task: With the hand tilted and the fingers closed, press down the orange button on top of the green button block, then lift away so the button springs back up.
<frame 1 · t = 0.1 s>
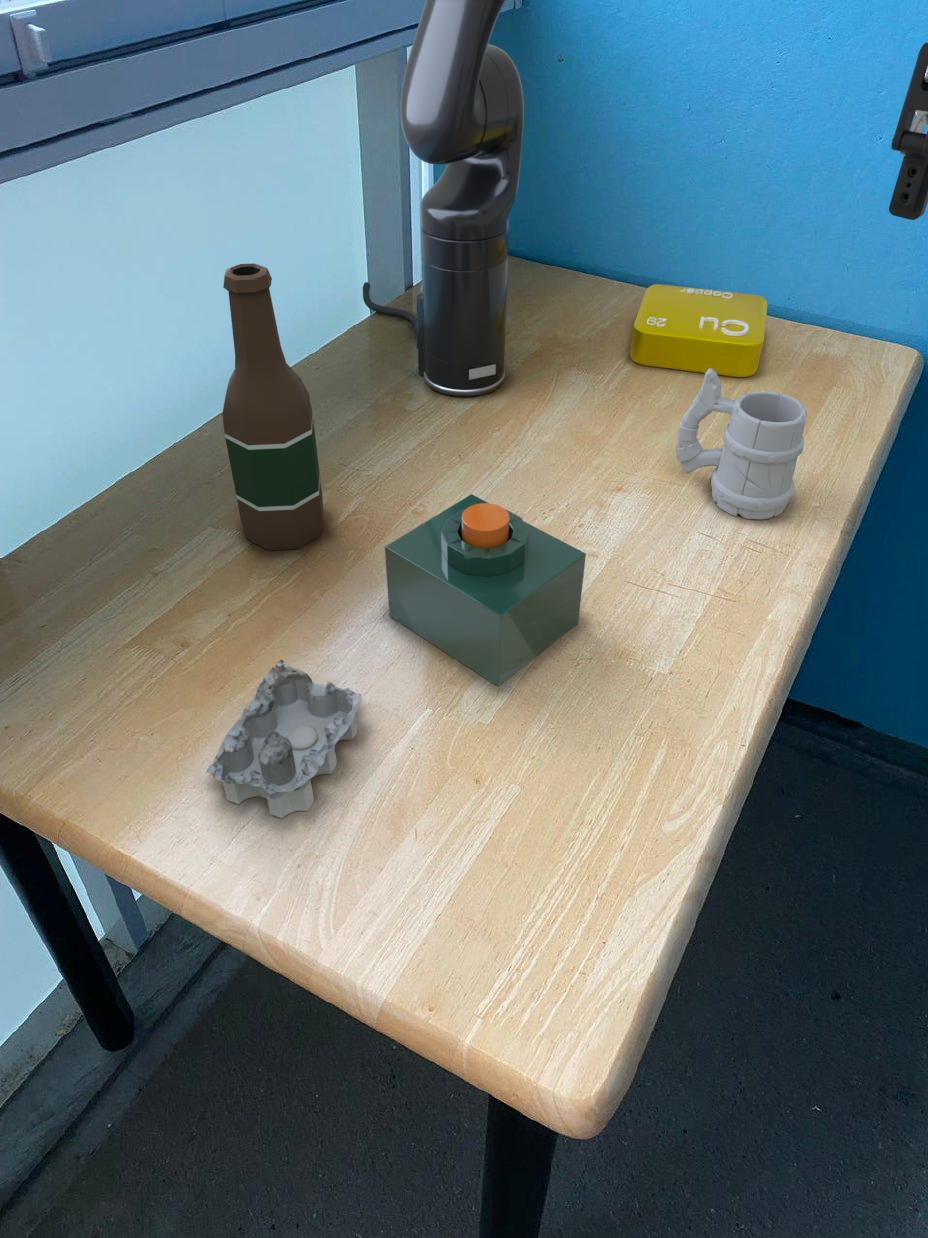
element tile: (696, 346, 115), on the table
beer bottle: (285, 529, 86), on the table
mug: (727, 495, 91), on the table
orange button: (485, 525, 70), point 9 cm above the table, slide at 0.1 cm
green button block: (483, 619, 77), on the table
egg carton: (294, 758, 66), on the table
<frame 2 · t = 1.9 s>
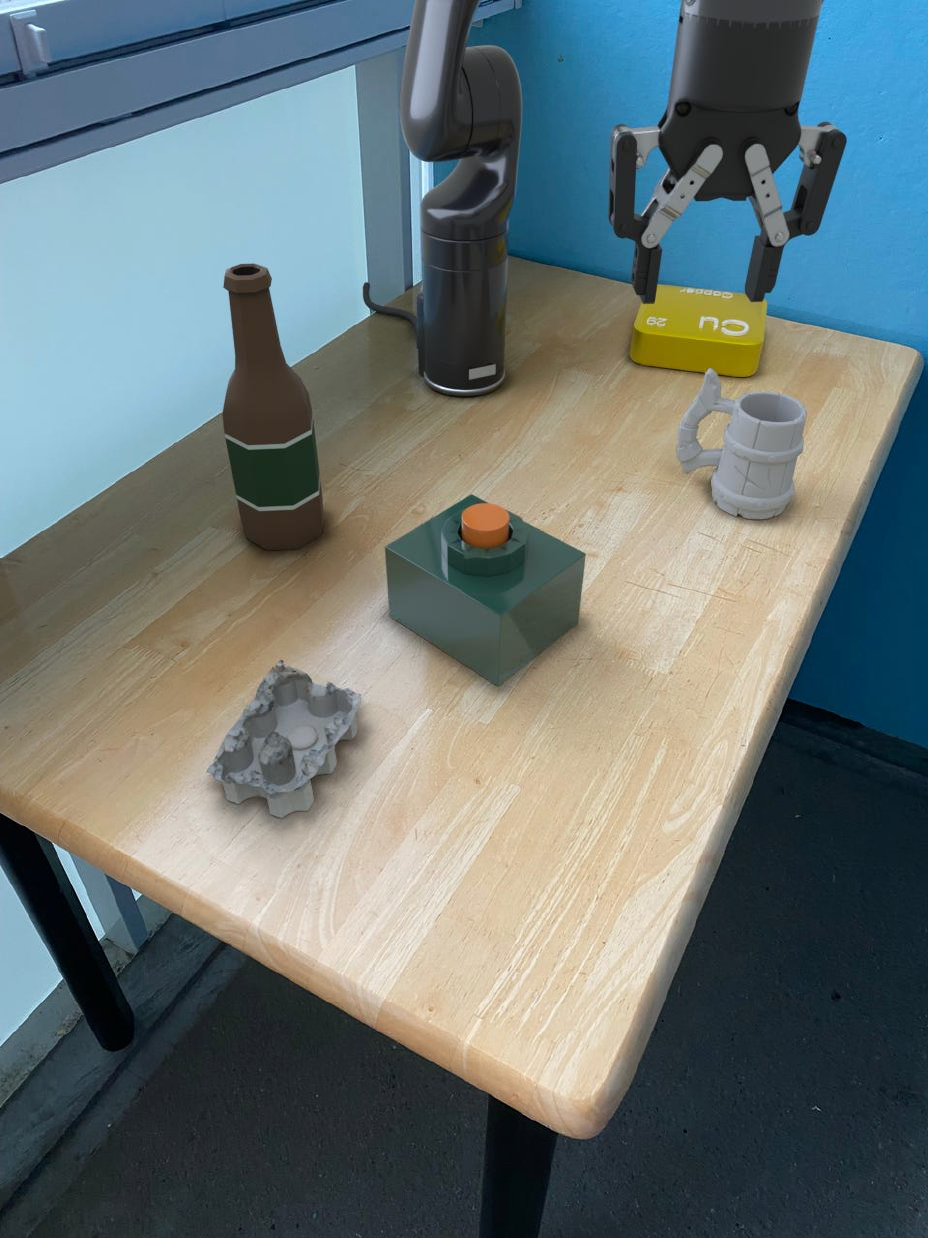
hand: (699, 297, 62), 26 cm above the table, tool pointing down, fingers open, 6 cm apart
nothing on the table moved.
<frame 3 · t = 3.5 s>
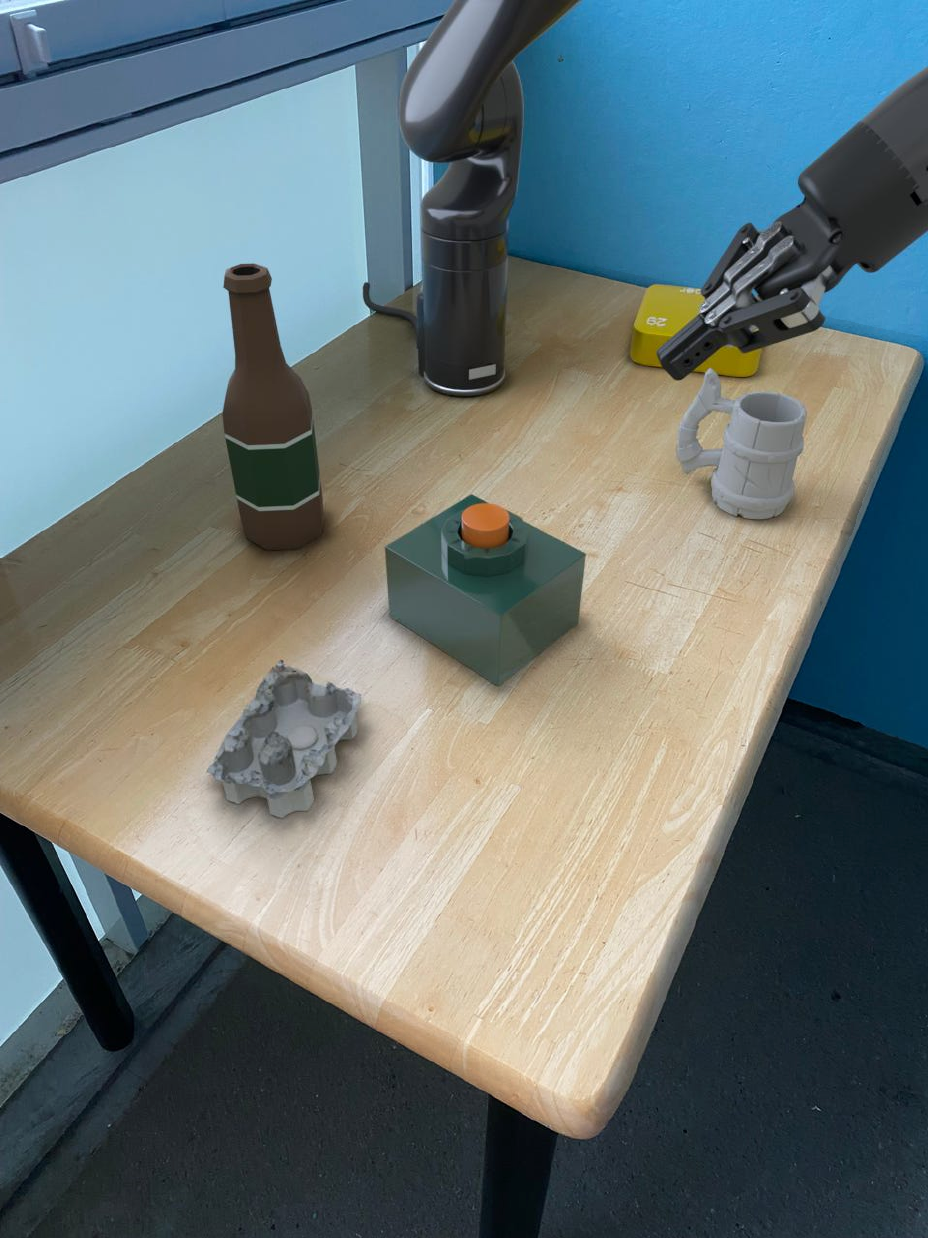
hand: (666, 367, 62), 22 cm above the table, tool tilted 45°, fingers closed
nothing on the table moved.
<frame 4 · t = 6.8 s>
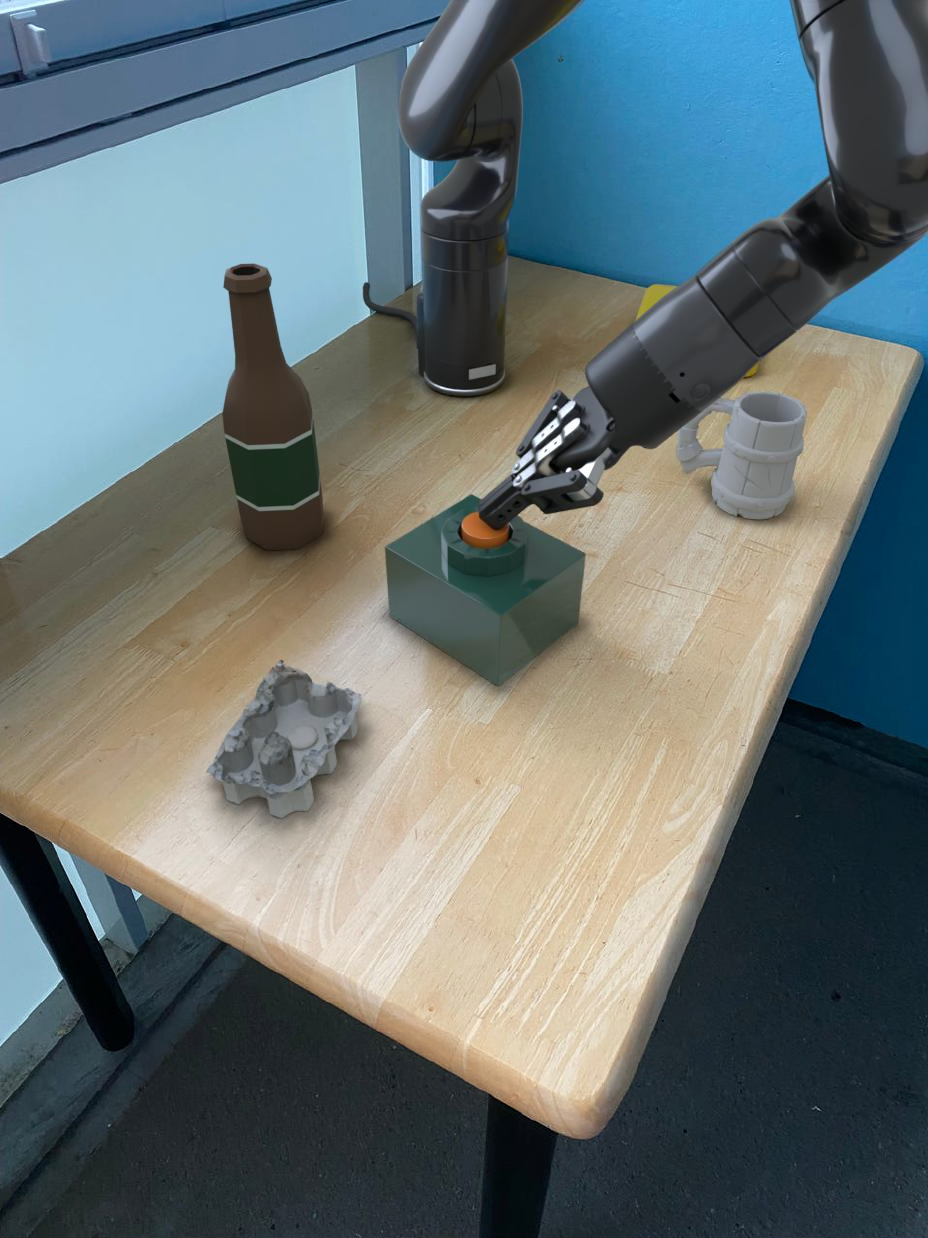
hand: (486, 518, 70), 10 cm above the table, tool tilted 45°, fingers closed
orange button: (485, 533, 71), point 9 cm above the table, slide at -0.7 cm, touching gripper
everything else where it was.
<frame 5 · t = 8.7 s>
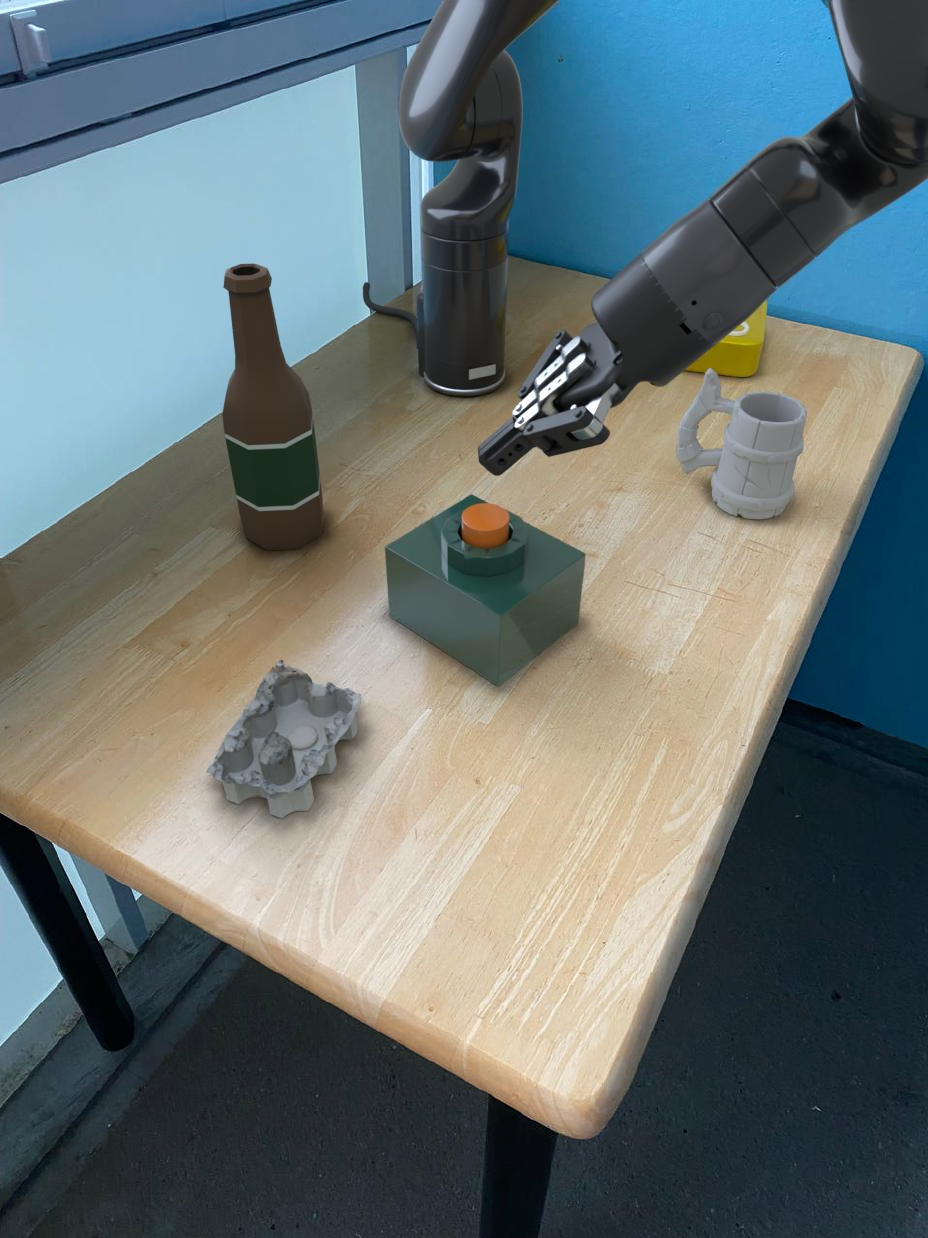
hand: (486, 463, 67), 15 cm above the table, tool tilted 45°, fingers closed
orange button: (485, 525, 70), point 9 cm above the table, slide at 0.1 cm
everything else where it was.
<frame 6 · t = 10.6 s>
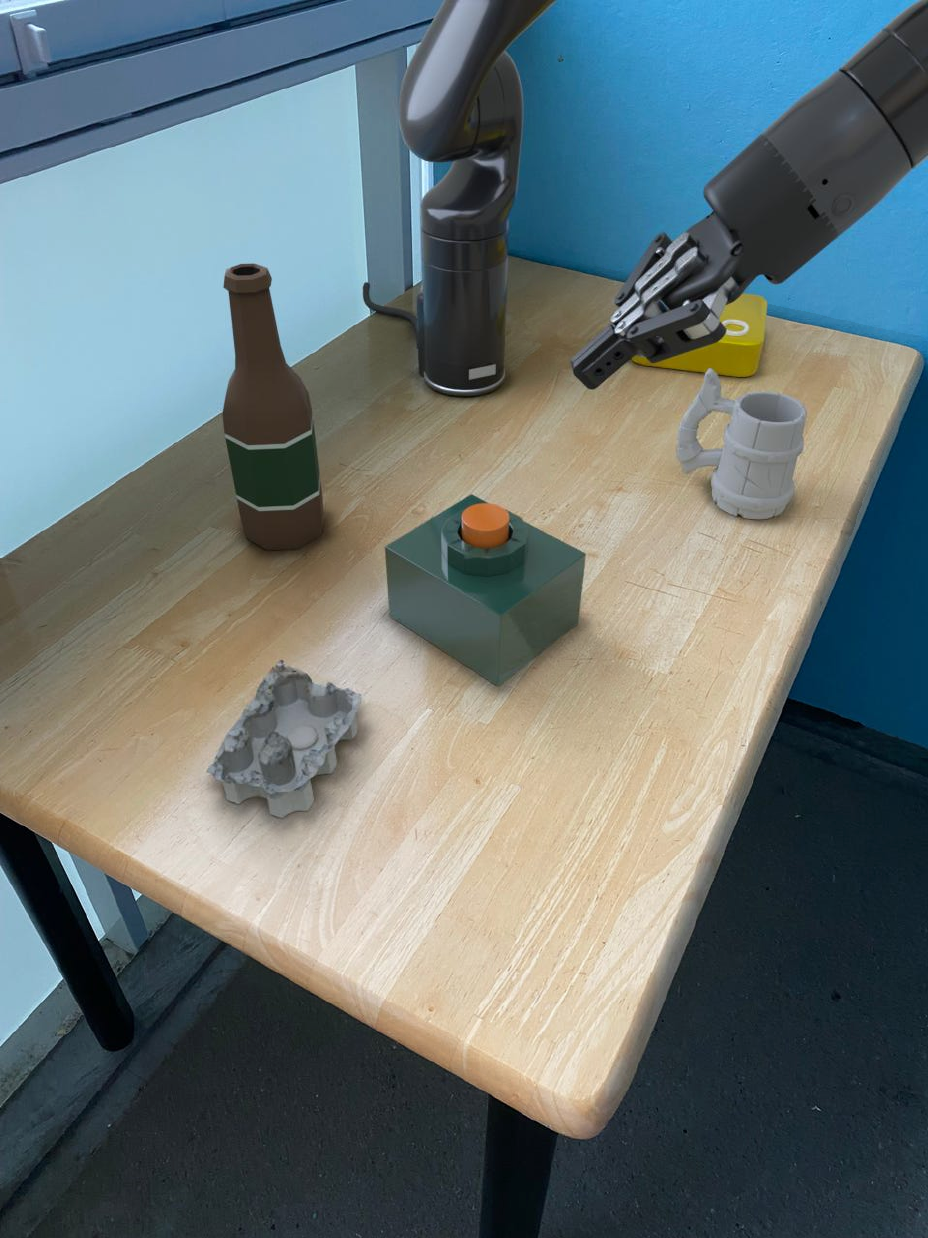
hand: (579, 376, 62), 22 cm above the table, tool tilted 45°, fingers closed
nothing on the table moved.
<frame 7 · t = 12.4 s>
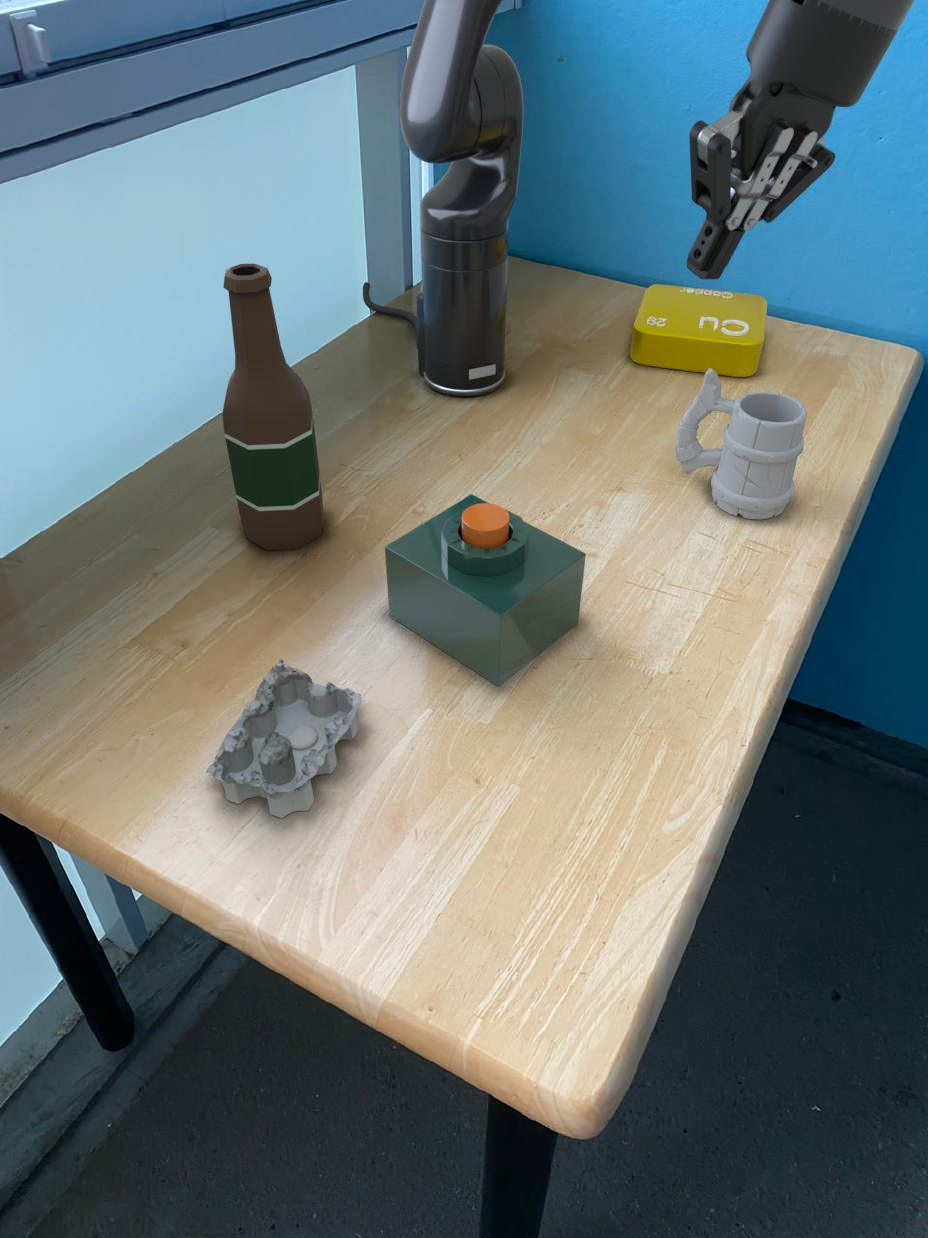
hand: (700, 273, 65), 26 cm above the table, tool tilted 20°, fingers closed
nothing on the table moved.
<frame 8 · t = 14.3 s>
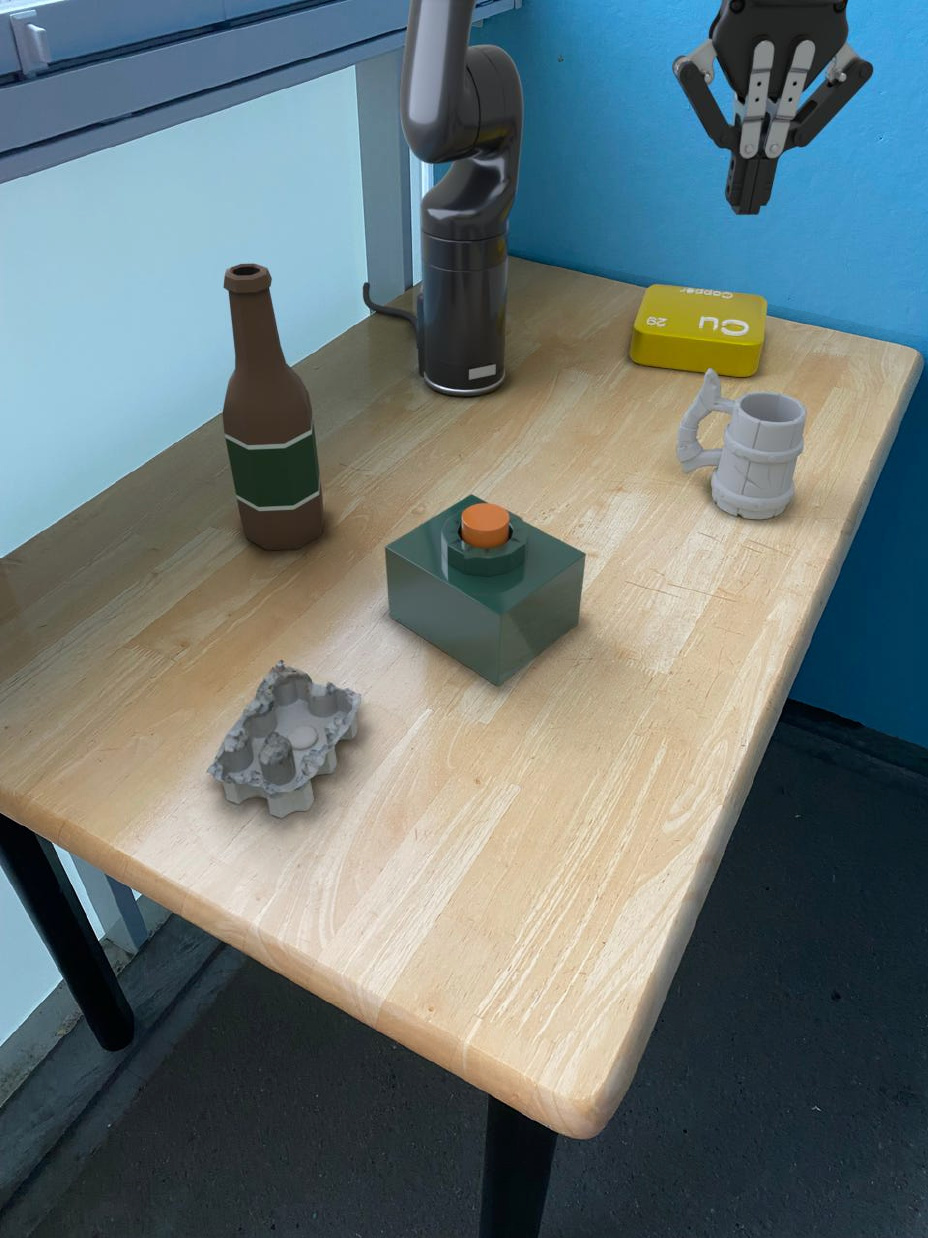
hand: (743, 211, 65), 29 cm above the table, tool pointing down, fingers closed
nothing on the table moved.
at the end: orange button pushed in 1.3 cm at the most during the clip, back to where it started at the end; orange button slide at 0.1 cm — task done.
